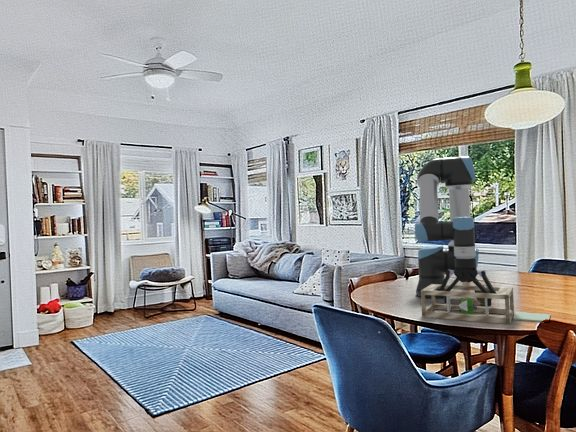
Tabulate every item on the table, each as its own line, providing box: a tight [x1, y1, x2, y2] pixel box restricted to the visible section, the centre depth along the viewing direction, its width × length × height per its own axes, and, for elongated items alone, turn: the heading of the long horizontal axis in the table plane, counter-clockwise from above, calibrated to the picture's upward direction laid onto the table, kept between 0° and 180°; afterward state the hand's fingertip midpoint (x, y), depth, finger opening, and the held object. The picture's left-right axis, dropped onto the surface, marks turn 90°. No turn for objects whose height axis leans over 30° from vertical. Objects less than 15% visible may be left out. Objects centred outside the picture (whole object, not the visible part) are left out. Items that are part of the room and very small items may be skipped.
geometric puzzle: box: [457, 297, 477, 315], centre depth 164 cm, size 7×7×8 cm
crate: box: [420, 284, 515, 325], centre depth 164 cm, size 30×16×10 cm, turn 58°
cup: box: [473, 284, 493, 307], centre depth 179 cm, size 8×7×8 cm
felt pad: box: [512, 311, 551, 323], centre depth 156 cm, size 11×11×1 cm
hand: (467, 313), depth 164 cm, fingers open, 13 cm apart
